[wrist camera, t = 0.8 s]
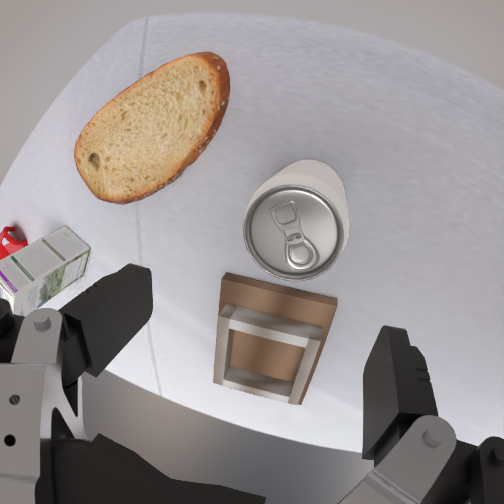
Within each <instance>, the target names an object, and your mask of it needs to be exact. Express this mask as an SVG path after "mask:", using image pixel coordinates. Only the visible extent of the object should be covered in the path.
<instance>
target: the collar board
mask: <svg viewBox="0 0 504 504" xmlns="http://www.w3.org/2000/svg"><path fill="white" fill-rule="evenodd" d="M336 308H337V299H336V298H332V297H327V296H323V295H319V294H314V293H310V292H305V291H301V290H297V289H293V288H288V287H284V286H280V285H276V284H271V283H267V282H263V281H259V280H255V279H251V278H246V277H242V276H238V275H234V274H230V273H226V274H225V275H224V276H223V278H222V280H221V291H220V302H219V314H218V326H217V338H216V351H215V364H214V378H213V383H216V384H219V385H222V386H226V387H229V388H232V389H236V390H239V391H243V392H246V393H250V394H253V395H257V396H261V397H265V398H269V399H273V400H277V401H281V402H285V403H289V404H294V405H297V404H299V405H301V404H302V401H303V399H304V397H305V394H306V392H307V389H308V387H309V384H310V381H311V379H312V376H313V374H314V371H315V368H316V366H317V363H318V360H319V358H320V355H321V352H322V349H323V346H324V344H325V341H326V338H327V335H328V332H329V329H330V326H331V323H332V320H333V317H334V314H335V311H336Z"/></svg>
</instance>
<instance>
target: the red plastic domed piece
mask: <svg viewBox="0 0 504 504" xmlns="http://www.w3.org/2000/svg"><path fill="white" fill-rule="evenodd" d="M14 230H15V228H14V227H5V228H4V229H3V231H2V232H1V233H0V260H2V259H4V258H5V257H7V256H9V255H11V254H13V253H14V252H16V251H18V250H20V249H22V248H24V247H26V246H27V241H26V240H23V242H20V241H17V240H15V239H13V238H12V237H11V236H10V235H9V234H8V233H7V232H8V231H9V232H13V231H14ZM4 237H5V238H6V239H7V240H8V241H9V242H10V243H8V244H6V245H5V246H3V244H2V240H3V238H4Z"/></svg>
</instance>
